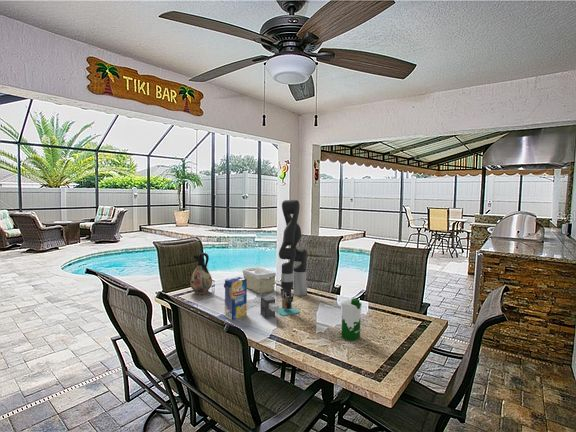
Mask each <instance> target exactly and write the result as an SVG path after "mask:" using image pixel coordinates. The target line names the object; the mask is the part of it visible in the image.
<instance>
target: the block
mask: <svg viewBox="0 0 576 432" xmlns="http://www.w3.org/2000/svg"><path fill="white" fill-rule="evenodd" d="M288 300H289V299H288ZM292 303H293V302H291V308H289V309H292V307H293V306H292V305H293V304H292ZM281 308H283V309H285V310H288V308H287V299H286V298H282V297H281Z"/></svg>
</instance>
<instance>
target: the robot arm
mask: <svg viewBox="0 0 576 432" xmlns="http://www.w3.org/2000/svg"><path fill="white" fill-rule="evenodd" d="M300 207H301V206H300V202H299V200H298V199H287V200H285V199H284V200H283V201H282V202H281V210H282V213H283V217H284V220H285V225H286V226H285V228H284V231H283V238H282V244H281V246H280V248H279V250H278V258H279V259H281V260H289V261H288V262H283V263H282V264H281V274H280V275H281V276H280V296H281V299H282V298H286V299H287V308H288V309H289V308H291V302H292V303H293V302H294V296H296V297H303V296H306V295H307V294H308V281H307V261H308V251H307V250H306V249H304V248H297V245H298V243H299V242H300V240H301V238H302V229H301V227H300V224H299V223H298V219H299V215H300ZM288 246H289V247H288ZM294 262H297V263H300V264H298V265H295V266H294ZM292 290H293V291H292ZM288 299H289V300H288Z"/></svg>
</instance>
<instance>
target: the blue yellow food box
mask: <svg viewBox="0 0 576 432" xmlns="http://www.w3.org/2000/svg"><path fill="white" fill-rule="evenodd" d="M224 284H225V288H224V317H225V318H226V319H229V320H231V321H233V320H236V319H238V318H239V319H240V318H241V317H244V316H247V314H248V313H247V310H248V309H247V307H248V306H247V305H248V304H247V300H248V299H247V297H248V296H247V293H248V291H247V289H248V288H247V279H245V278H244V277H240V276H238V277H237V276H236V277H234V278H229V279H224Z"/></svg>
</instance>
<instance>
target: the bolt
mask: <svg viewBox="0 0 576 432" xmlns="http://www.w3.org/2000/svg"><path fill="white" fill-rule="evenodd" d="M267 307H268V308H269V309H270V310H272V311H275V312H276V311H278V310H279V308H280V305H278V304H277V303H276V302H275V303H274V302H267Z"/></svg>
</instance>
